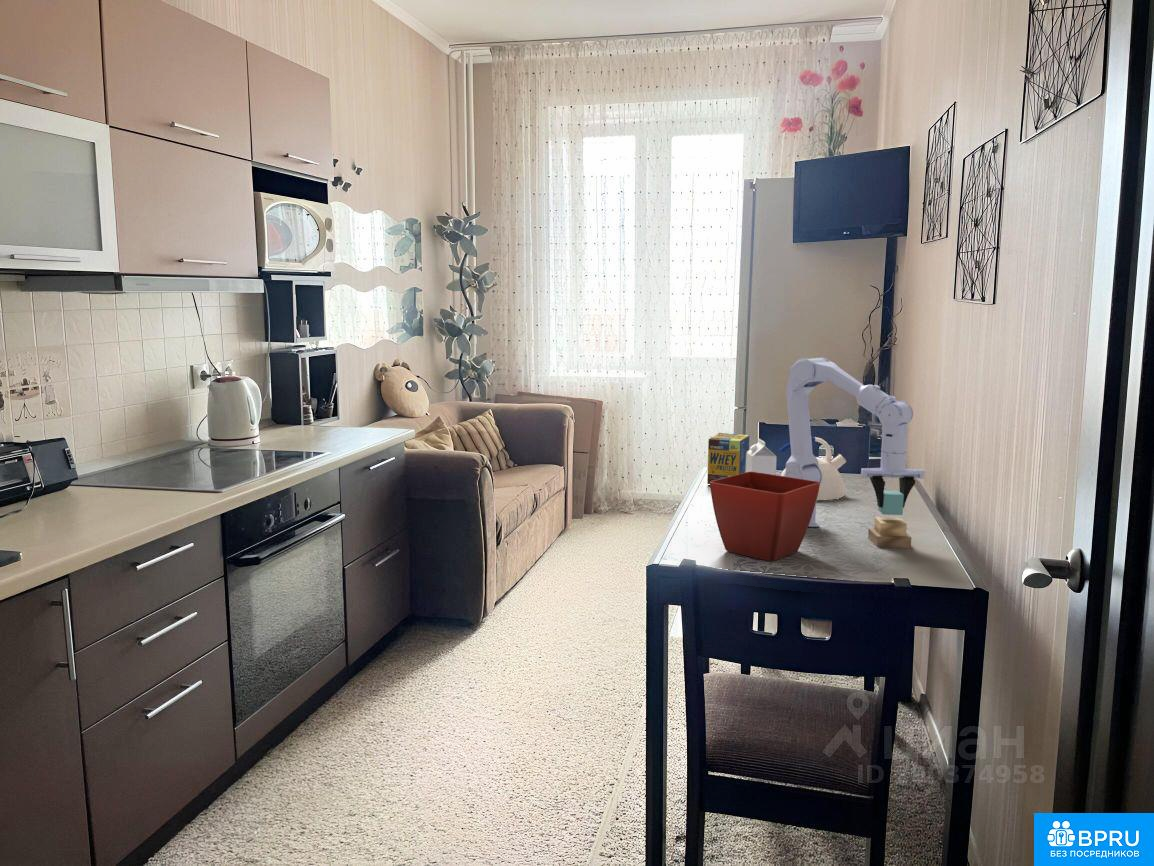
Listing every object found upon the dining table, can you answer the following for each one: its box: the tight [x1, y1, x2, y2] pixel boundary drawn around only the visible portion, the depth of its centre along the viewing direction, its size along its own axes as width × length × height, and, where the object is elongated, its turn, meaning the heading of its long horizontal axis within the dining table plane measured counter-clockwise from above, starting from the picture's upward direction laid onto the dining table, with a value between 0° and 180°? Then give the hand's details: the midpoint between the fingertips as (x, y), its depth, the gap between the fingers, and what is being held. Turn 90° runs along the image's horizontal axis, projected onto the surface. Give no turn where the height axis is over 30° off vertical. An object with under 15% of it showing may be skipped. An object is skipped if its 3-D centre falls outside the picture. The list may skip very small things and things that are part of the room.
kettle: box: [778, 436, 847, 500], centre depth 263 cm, size 20×21×18 cm
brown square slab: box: [867, 527, 912, 548], centre depth 208 cm, size 8×8×3 cm
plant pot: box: [709, 472, 820, 562], centre depth 199 cm, size 19×19×17 cm
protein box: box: [706, 432, 750, 485], centre depth 280 cm, size 10×15×16 cm
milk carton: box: [746, 438, 778, 475], centre depth 248 cm, size 7×7×19 cm
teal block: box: [877, 490, 904, 516], centre depth 207 cm, size 4×4×5 cm
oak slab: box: [873, 516, 908, 536], centre depth 208 cm, size 6×6×3 cm
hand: (890, 506), depth 207 cm, fingers closed on teal block, 4 cm apart
